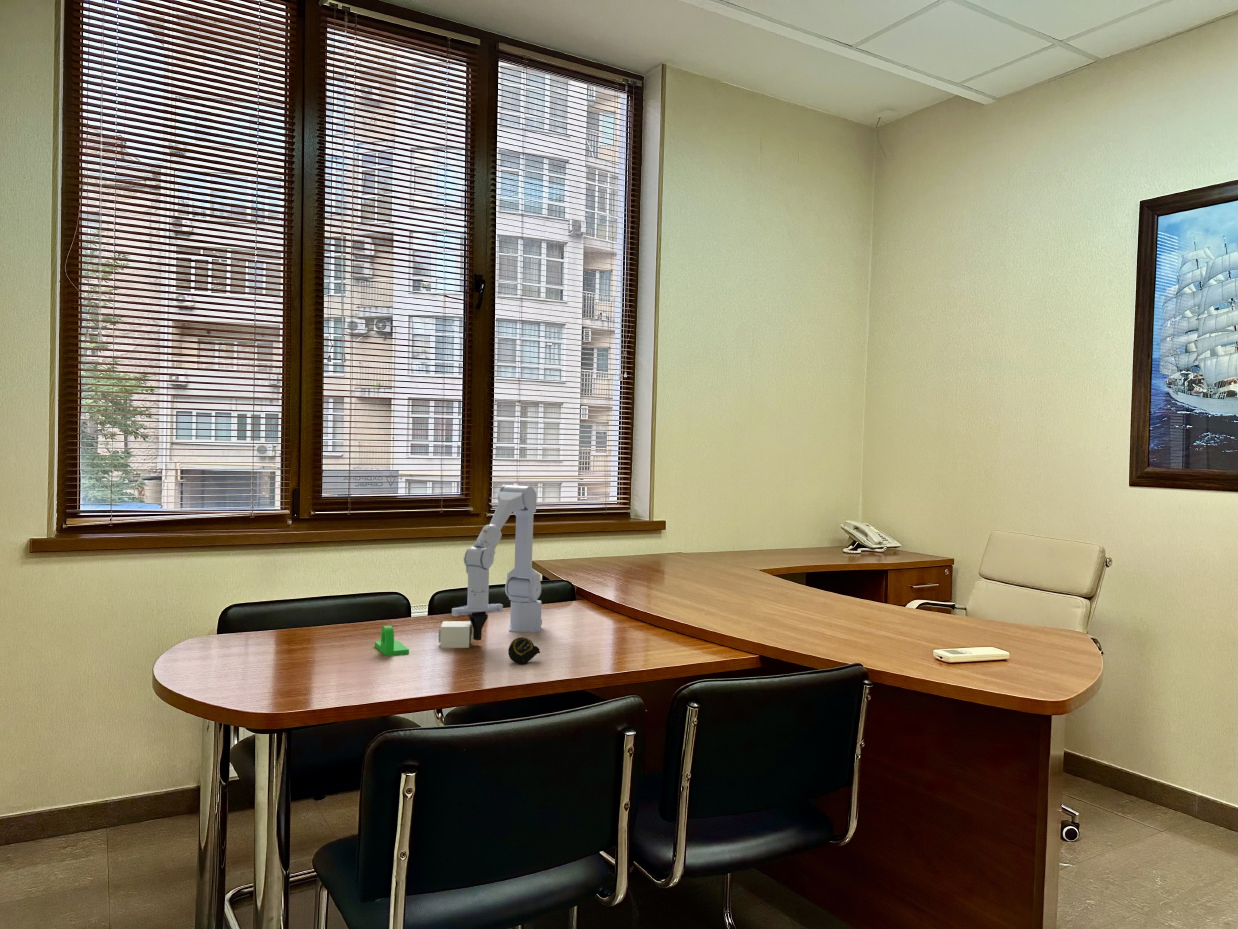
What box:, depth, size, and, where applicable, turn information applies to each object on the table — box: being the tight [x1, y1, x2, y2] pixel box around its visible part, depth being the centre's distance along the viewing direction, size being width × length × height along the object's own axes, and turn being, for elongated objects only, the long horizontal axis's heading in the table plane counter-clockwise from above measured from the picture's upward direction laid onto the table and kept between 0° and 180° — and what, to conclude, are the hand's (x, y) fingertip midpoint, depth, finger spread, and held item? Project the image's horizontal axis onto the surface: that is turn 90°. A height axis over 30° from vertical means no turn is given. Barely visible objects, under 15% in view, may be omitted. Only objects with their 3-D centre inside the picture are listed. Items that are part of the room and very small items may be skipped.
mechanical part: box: [374, 625, 410, 657], centre depth 231 cm, size 12×6×8 cm, turn 29°
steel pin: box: [438, 628, 473, 644], centre depth 238 cm, size 9×4×4 cm, turn 97°
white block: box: [440, 620, 473, 649], centre depth 238 cm, size 8×7×6 cm
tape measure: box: [507, 636, 541, 666], centre depth 221 cm, size 7×7×4 cm
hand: (477, 639), depth 239 cm, fingers closed, pressing on white block
